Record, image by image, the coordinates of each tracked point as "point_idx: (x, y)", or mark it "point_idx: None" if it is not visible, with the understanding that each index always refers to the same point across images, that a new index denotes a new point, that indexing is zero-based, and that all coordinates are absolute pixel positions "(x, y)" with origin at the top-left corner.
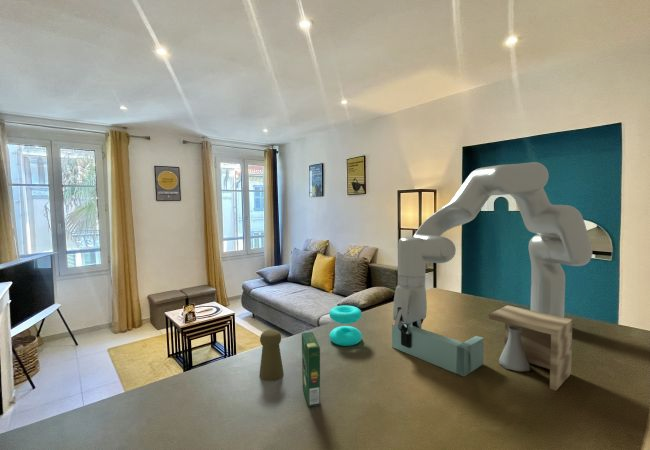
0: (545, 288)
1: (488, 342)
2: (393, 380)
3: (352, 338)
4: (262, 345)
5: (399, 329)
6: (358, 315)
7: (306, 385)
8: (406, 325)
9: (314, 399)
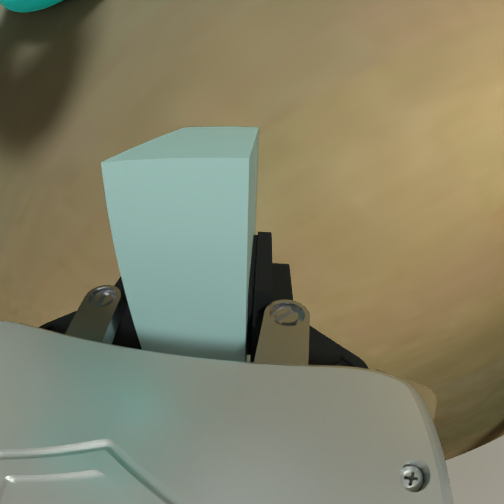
0: None
1: (480, 366)
2: (33, 303)
3: (18, 4)
4: None
5: (65, 315)
6: None
7: None
8: (203, 300)
9: None
